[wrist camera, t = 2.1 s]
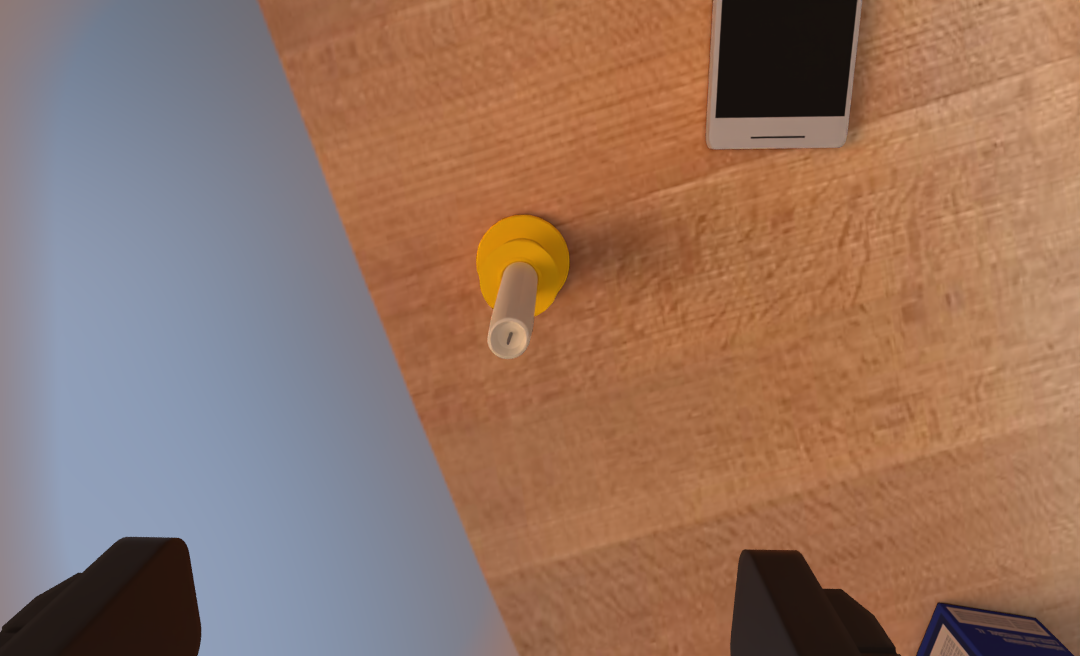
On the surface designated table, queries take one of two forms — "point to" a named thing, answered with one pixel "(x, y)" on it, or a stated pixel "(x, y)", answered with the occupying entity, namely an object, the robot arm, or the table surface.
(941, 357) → the table surface
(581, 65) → the table surface
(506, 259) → the candle
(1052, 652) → the milk carton
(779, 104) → the smartphone
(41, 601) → the robot arm
